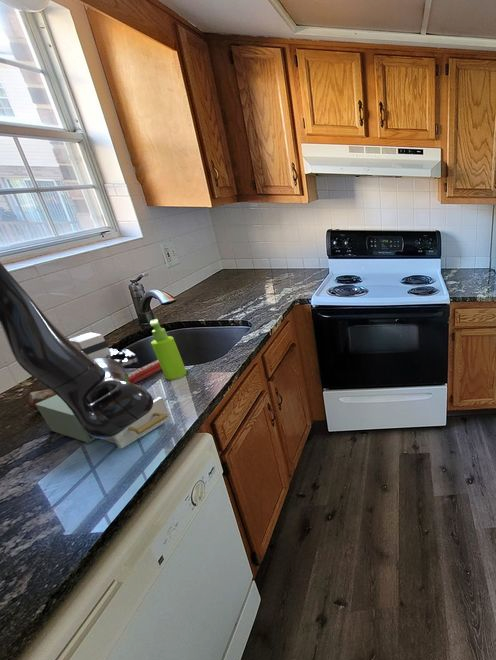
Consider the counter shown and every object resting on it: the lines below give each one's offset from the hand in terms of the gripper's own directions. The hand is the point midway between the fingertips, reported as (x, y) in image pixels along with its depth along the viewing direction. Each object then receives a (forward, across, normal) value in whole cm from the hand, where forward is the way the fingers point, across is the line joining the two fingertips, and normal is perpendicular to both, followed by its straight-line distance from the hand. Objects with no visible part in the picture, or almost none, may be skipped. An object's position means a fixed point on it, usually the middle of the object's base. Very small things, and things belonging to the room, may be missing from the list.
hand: (94, 356), depth 89 cm
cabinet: (+9, +5, +21) cm, 24 cm away
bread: (+28, +7, +22) cm, 36 cm away
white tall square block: (-2, 0, +11) cm, 11 cm away
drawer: (-4, -1, +20) cm, 21 cm away
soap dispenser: (+22, -16, +21) cm, 34 cm away
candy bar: (+30, -10, +21) cm, 38 cm away
